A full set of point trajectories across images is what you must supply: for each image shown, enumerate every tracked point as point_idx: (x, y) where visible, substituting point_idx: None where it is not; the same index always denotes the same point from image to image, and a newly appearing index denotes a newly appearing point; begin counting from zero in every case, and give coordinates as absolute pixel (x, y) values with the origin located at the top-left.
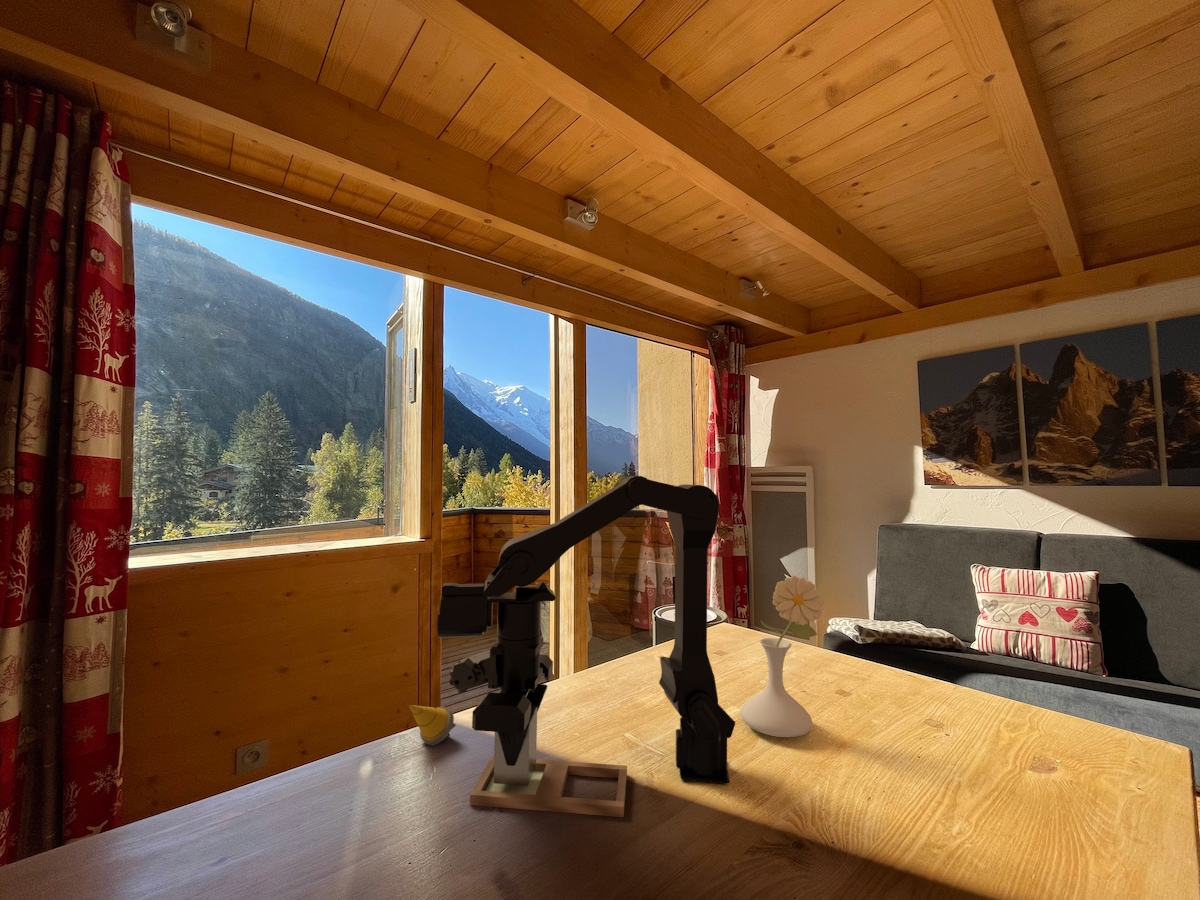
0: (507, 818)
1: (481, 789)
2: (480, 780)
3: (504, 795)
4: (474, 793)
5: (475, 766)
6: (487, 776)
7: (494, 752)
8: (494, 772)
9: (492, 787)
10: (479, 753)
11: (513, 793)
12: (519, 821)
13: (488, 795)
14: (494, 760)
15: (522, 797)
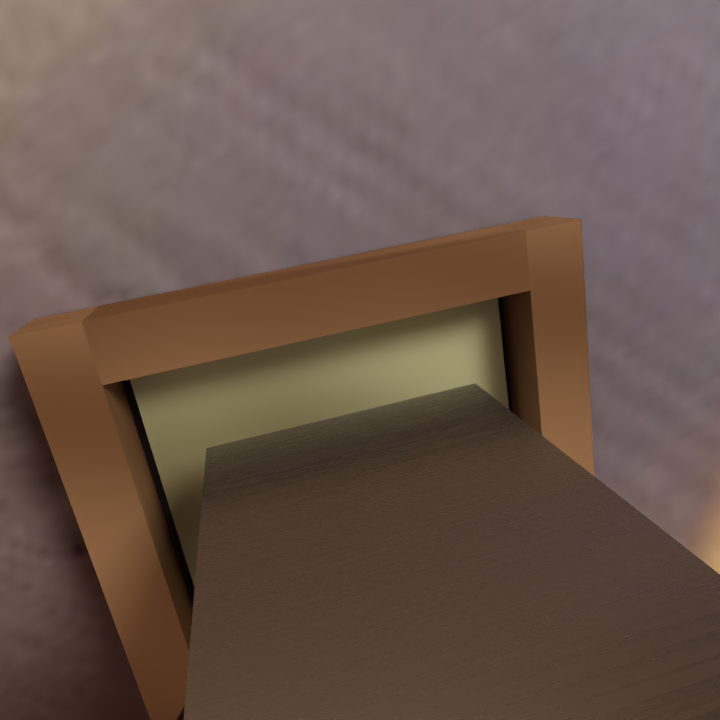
0: (26, 613)
1: (132, 376)
2: (228, 312)
3: (120, 577)
4: (39, 364)
5: (502, 97)
6: (299, 338)
7: (192, 614)
8: (206, 493)
9: (266, 382)
10: (675, 34)
11: (172, 613)
12: (34, 683)
13: (71, 475)
14: (202, 552)
15: (153, 683)
